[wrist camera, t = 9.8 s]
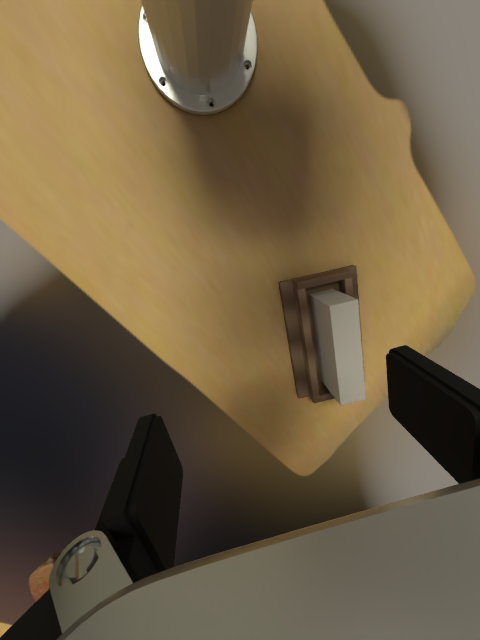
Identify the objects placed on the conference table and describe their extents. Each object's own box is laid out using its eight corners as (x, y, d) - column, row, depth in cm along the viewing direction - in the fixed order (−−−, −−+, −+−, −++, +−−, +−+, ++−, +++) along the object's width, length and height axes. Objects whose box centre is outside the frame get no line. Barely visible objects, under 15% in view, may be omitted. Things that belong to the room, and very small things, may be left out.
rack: (278, 282, 39) (284, 285, 36) (352, 265, 39) (363, 267, 36) (297, 395, 45) (303, 406, 42) (361, 379, 45) (371, 389, 42)
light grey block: (308, 294, 39) (329, 306, 32) (332, 288, 39) (358, 299, 32) (320, 379, 43) (340, 405, 36) (341, 374, 43) (365, 399, 36)
